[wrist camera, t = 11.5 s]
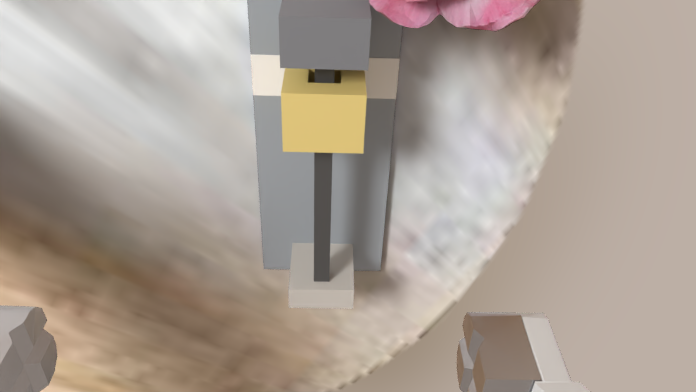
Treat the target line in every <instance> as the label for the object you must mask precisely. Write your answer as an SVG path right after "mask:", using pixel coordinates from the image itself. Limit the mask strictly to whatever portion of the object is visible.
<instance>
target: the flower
mask: <svg viewBox="0 0 696 392" xmlns="http://www.w3.org/2000/svg"><path fill="white" fill-rule="evenodd" d="M539 1H540V0H369V2H370V5H371V6H373V8H374V9H375V10H376V11H378V12H379V13H381V14H382V15H383V16H385V17H386V18H387V19H389V20H390V21H392V22H393V23H396V24H399V25H402V26H405V27H410V28H421V27H423V26H426V25H428V24H430V23H431V22H432V21H433V20H434V19H435V18H436V17H437V16H438V15H439V14H440V15H442V16H443V17H444V18H445V19H446V20H447V21H448V22H449V23H451V24H453V25H454V26H456V27H460V28H468V29H477V30H492V31H494V32H496V31H498V30H501V29H503V28H505V27H507V26H508V25H510V24H511V23H513V22H515V21H517V20H519V19H522V18H524V17H525V16H526V15H527V13H528V12H529V11H530V10H531V9H532V7H533V6H535V5H536V4H537V3H538V2H539Z"/></svg>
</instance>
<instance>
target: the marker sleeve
mask: <svg viewBox="0 0 696 392" xmlns="http://www.w3.org/2000/svg"><path fill="white" fill-rule="evenodd" d="M366 100H367V92H366V81H365V70H335V74H334V83H315V69H295V68H285V71H284V77H283V84H282V90H281V112H282V143H283V152H317V153H361V154H363V150H364V133H365V117H366Z"/></svg>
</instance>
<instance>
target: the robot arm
mask: <svg viewBox="0 0 696 392" xmlns="http://www.w3.org/2000/svg"><path fill="white" fill-rule="evenodd" d="M46 321H47V319H46V317H45V314H44V312H43V310H42V308H38V307H25V306H0V392H40V391H41V390H42V389H44V388H45V387H46V386H48V385H49V383H50V381H51V378H52V376H53V374H54V371H55V365H56V360H57V350H56V343H55V340H54V338H53V336H52V335H51V334H49V333H48V332H47V331H45V330H44V329H43V327H44V325H45V323H46ZM463 331H464V336H465V337H464V338H463V339H461V340H460V341H459V345H458V350H457V375H458V382H459V388H460V390H461V391H463V392H591V391H589V390H588V389H587V388H586V387H585V386H584V385H582V384H581V383H580V382H572V381H571V378H570V375H569V373H568V370H567V368H566V365H565V362H564V360H563V357H562V354H561V352H560V349H559V346H558V344H557V341H556V338H555V336H554V333H553V331H552V328H551V325H550V322H549V320H548V317H547V316H546V315H545V314H544V313H506V312H505V313H504V312H502V313H500V312H495V313H494V312H493V313H492V312H489V313H487V312H484V313H483V312H477V313H476V312H471V313H470V312H467V313H466V315H465V317H464V321H463Z"/></svg>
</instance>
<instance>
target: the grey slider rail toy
mask: <svg viewBox="0 0 696 392" xmlns="http://www.w3.org/2000/svg"><path fill="white" fill-rule="evenodd" d="M247 3H248V19H249V35H250V52H251V69H252V85H253V100H254V117H255V133H256V149H257V165H258V182H259V198H260V214H261V230H262V247H263V263H264V269H290V276H289V287H288V296H289V308H334V309H353V302H354V271H380V268H381V257H382V246H383V236H384V225H385V214H386V203H387V192H388V181H389V170H390V159H391V148H392V137H393V127H394V116H395V105H396V95H397V84H398V73H399V62H400V50H401V39H402V28H403V26H402V25H399V24H396V23H393V22H392V21H390V20H389V19H387V18H386V17H385V16H383V15H382V14H381V13H379V12H378V11H376V10H375V9H374V8H373V6H371V5H370V2H369V0H247ZM285 68H295V69H315V83H334V74H335V70H365V81H366V92H367V100H366V117H365V133H364V150H363V154H361V153H317V152H283V143H282V112H281V90H282V84H283V77H284V71H285Z"/></svg>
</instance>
